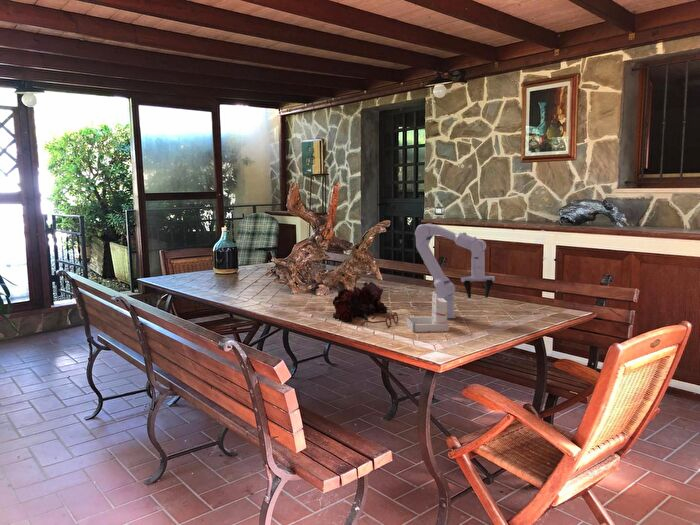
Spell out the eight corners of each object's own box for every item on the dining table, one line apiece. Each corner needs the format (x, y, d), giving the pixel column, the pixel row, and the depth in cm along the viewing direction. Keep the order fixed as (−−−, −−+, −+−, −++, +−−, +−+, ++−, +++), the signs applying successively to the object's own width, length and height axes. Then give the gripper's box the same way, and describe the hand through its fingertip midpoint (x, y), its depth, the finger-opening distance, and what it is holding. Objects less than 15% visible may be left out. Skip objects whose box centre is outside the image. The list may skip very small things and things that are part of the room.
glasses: (387, 329, 229) (387, 317, 228) (359, 326, 235) (359, 314, 234) (398, 322, 241) (398, 311, 240) (371, 319, 246) (371, 308, 246)
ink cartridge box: (447, 329, 226) (448, 294, 225) (435, 329, 226) (436, 295, 224) (442, 324, 235) (443, 291, 233) (431, 324, 235) (431, 291, 233)
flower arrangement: (356, 324, 236) (356, 290, 234) (321, 318, 248) (320, 286, 246) (394, 311, 261) (394, 280, 259) (360, 306, 273) (360, 277, 271)
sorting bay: (406, 323, 236) (406, 316, 236) (440, 322, 238) (440, 315, 237) (412, 332, 223) (413, 323, 222) (448, 331, 224) (449, 323, 223)
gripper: (464, 268, 234) (464, 299, 236) (497, 267, 235) (496, 298, 237) (459, 266, 241) (459, 296, 243) (491, 265, 242) (491, 295, 244)
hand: (477, 297), depth 240 cm, fingers open, 7 cm apart
